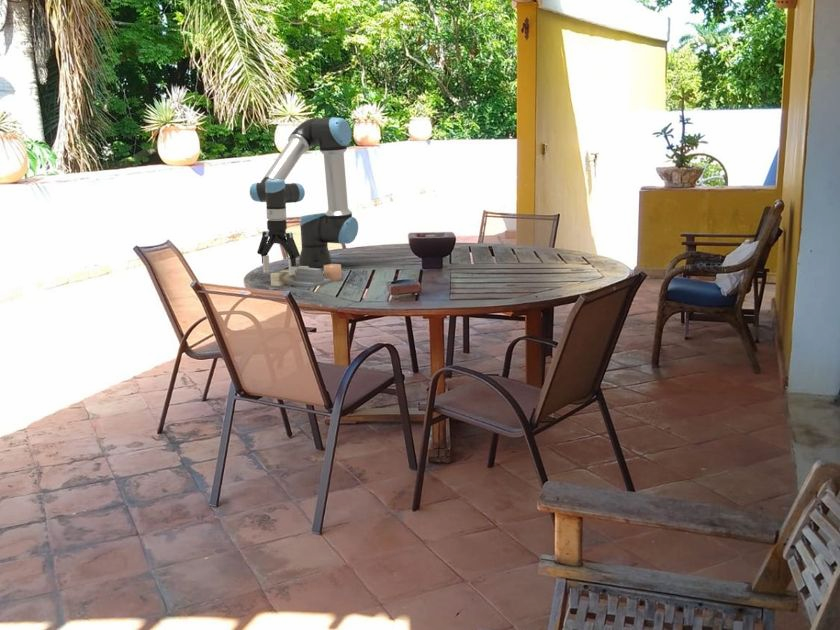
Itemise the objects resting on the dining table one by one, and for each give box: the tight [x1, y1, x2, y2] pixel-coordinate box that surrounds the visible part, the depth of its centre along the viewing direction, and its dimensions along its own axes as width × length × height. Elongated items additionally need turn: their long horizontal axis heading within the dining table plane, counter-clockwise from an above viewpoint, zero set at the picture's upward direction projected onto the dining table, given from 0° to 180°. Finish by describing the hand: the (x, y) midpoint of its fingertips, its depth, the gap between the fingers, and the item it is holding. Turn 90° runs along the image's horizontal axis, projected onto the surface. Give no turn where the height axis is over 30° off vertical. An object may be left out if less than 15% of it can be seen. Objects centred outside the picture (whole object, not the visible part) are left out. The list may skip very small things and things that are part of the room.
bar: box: [270, 265, 309, 287], centre depth 325 cm, size 20×4×5 cm, turn 151°
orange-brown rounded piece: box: [323, 263, 343, 282], centre depth 327 cm, size 7×7×6 cm
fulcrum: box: [287, 267, 332, 288], centre depth 320 cm, size 12×12×6 cm
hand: (279, 273), depth 320 cm, fingers open, 13 cm apart
